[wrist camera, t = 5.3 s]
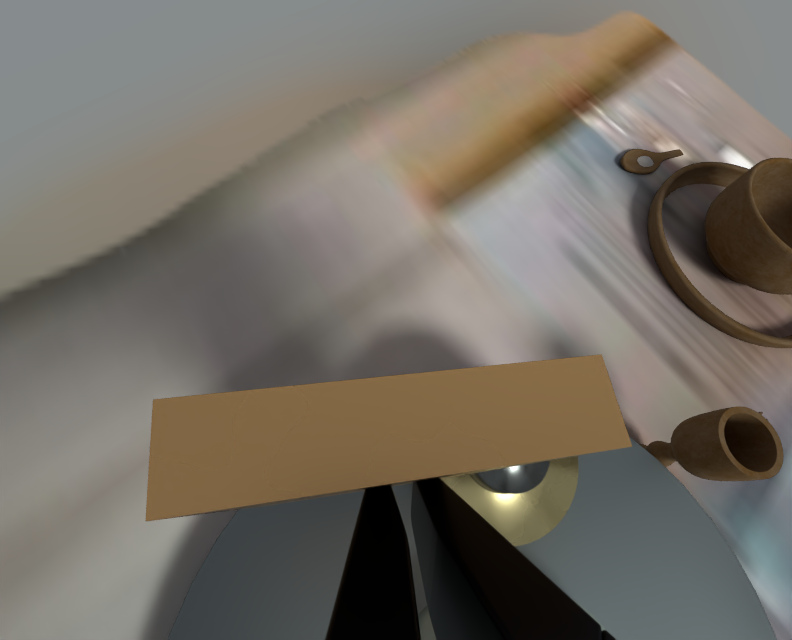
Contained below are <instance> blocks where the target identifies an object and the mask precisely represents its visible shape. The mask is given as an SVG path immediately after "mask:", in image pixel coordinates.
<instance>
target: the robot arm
mask: <svg viewBox="0 0 792 640" xmlns="http://www.w3.org/2000/svg"><path fill="white" fill-rule="evenodd" d="M411 523H412V529H413V534H414V539H415V544H416V550H417V555H418V560H419V565H420V571H421V576H422V581H423V586H424V592H425V597H426V602H427V606H428V611H429V615H430V619H431V623H432V626H433V630H434V633H435V637H436V640H616V639H615V638H614V637H613V636H612V635H611V634H610V633H609V632H608V631H606V630H603V631H602V629H601V626H600V624H599V623H598V622H597V621H595V620H594V619H593V618H592V617H591V616H590V615H589V614H588V613H587V612H586V611H585V610H583V609H582V608H581V607H580V606H579V605H578V604H577V603H576V602H575V601H574V600H573V599H571V598H570V597H569V596H568V595H567V594H566V593H565V592H564V591H563V590H562V589H561V588H559V587H558V586H557V585H556V584H555V583H554V582H553V581H552V580H551V579H550V578H548V577H547V576H546V575H545V574H544V573H543V572H542V571H541V570H540V569H539V568H538V567H536V566H535V565H534V564H533V563H532V562H531V561H530V560H529V559H528V558H527V557H526V556H524V555H523V554H522V553H521V552H520V551H519V550H518V549H517V548H516V547H515V546H514V545H512V544H511V543H510V542H509V541H508V540H507V539H506V538H505V537H504V536H503V535H502V534H500V533H499V532H498V531H497V530H496V529H495V528H494V527H493V526H492V525H491V524H490V523H488V522H487V521H486V520H485V519H484V518H483V517H482V516H481V515H480V514H479V513H478V512H476V511H475V510H474V509H473V508H472V507H471V506H470V505H469V504H468V503H467V502H466V501H464V500H463V499H462V498H461V497H460V496H459V495H458V494H457V493H456V492H455V491H454V490H452V489H451V488H450V487H449V486H448V485H447V484H446V483H445V482H444V481H443V480H441V479H440V478H434V479H428V480H421V481H415V482H413V486H412V500H411ZM325 640H421V634H420V627H419V619H418V611H417V603H416V596H415V588H414V580H413V572H412V564H411V557H410V549H409V543H408V537H407V534H406V530H405V527H404V523H403V520H402V517H401V514H400V511H399V508H398V505H397V501H396V498H395V495H394V492H393V489H392V486H391V485H389V486H382V487H376V488H369V489H365V491H364V494H363V498H362V502H361V506H360V509H359V513H358V517H357V521H356V524H355V528H354V532H353V536H352V539H351V543H350V547H349V551H348V554H347V558H346V562H345V566H344V569H343V573H342V577H341V581H340V584H339V588H338V592H337V596H336V599H335V603H334V607H333V611H332V614H331V618H330V622H329V626H328V629H327V633H326V637H325Z"/></svg>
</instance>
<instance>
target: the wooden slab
mask: <svg viewBox="0 0 792 640" xmlns="http://www.w3.org/2000/svg"><path fill="white" fill-rule="evenodd" d="M627 447H632V444H631V441H630V438H629V435H628V432H627V429H626V426H625V423H624V420H623V417H622V414H621V411H620V408H619V405H618V402H617V399H616V396H615V393H614V390H613V387H612V384H611V381H610V378H609V375H608V372H607V369H606V366H605V363H604V360H603V357H602V355H592V356H582V357H572V358H562V359H552V360H542V361H532V362H522V363H512V364H502V365H492V366H483V367H473V368H463V369H453V370H443V371H433V372H423V373H413V374H403V375H393V376H383V377H373V378H363V379H353V380H343V381H333V382H323V383H314V384H304V385H294V386H284V387H274V388H264V389H254V390H244V391H234V392H224V393H214V394H204V395H194V396H184V397H174V398H164V399H154V400H153V410H152V426H151V442H150V458H149V474H148V490H147V507H146V521H152V520H160V519H168V518H176V517H183V516H191V515H199V514H207V513H215V512H222V511H230V510H238V509H246V508H254V507H261V506H268V505H275V504H281V503H288V502H294V501H301V500H307V499H314V498H320V497H327V496H333V495H339V494H346V493H352V492H359V491H365V489H369V488H376V487H382V486H389V485H391V486H398V485H404V484H410V483H413V482H415V481H421V480H428V479H434V478H440V479H441V480H443V481H444V482H445V483H446V484H447V485H448V486H449V487H450V488H451V489H452V490H454V491H455V492H456V493H457V494H458V495H459V496H460V497H461V498H462V499H463V500H464V501H466V502H467V503H468V504H469V505H470V506H471V507H472V508H473V509H474V510H475V511H476V512H478V513H479V514H480V515H481V516H482V517H483V518H484V519H485V520H486V521H487V522H488V523H490V524H491V525H492V526H493V527H494V528H495V529H496V530H497V531H498V532H499V533H500V534H502V535H503V536H504V537H505V538H506V539H507V540H508V541H509V542H510V543H511V544H512V545H514V546H521V545H524V544H528V543H531V542H533V541H536V540H538V539H540V538H542V537H543V536H545V535H546V534H548V533H549V532H550V531H551V530H553V529H554V528H555V527H556V526H557V525H558V524H559V522H560V521H561V520H562V519H563V517H564V516H565V514H566V513H567V511H568V509H569V507H570V505H571V503H572V501H573V498H574V495H575V491H576V487H577V482H578V456H579V455H585V454H591V453H597V452H603V451H609V450H615V449H621V448H627Z"/></svg>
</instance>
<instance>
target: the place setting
mask: <svg viewBox="0 0 792 640" xmlns="http://www.w3.org/2000/svg"><path fill="white" fill-rule="evenodd" d="M681 155H683V153H682V151H681V150H680V149H679V150H674V151H669V152H663V153H655V152H650V151H647V150H642V149H632V150H630V151H628V152H626V153H625V154H624V155H623V157H622V158H621V161H620V163H621V165H622V167H623V168H624V169H625V170H626V171H628V172H631V173H636V174H648V173H651V172H653V171H655V170H656V169H657V168H658V167H659V165H660V163H661V162H662V161H664V160H666V159H669V158H673V157H677V156H681ZM640 156H649V157H650V158H651V159H652V160H653V162H654V164H653V165H652V166H651V167H643V166H641V165H640V164H639V163H638V162H637V159H638V157H640ZM691 184H714V185H719V186H723V187H727V188H725V189H724V190H723V191H722V192H721V193H720V194H719V195H718V196H717V197H716V198H715V200H714V201H713V203H712V204H711V206H710V207H709V209H708V212H707V215H706V220H705V234H706V239H707V241H706V246H707V251H708V254H709V256H710V258H711V260H712V262H713V263H714V265H715V266H716V267H717V268H718V269H719V270H720V271H721V272H722V273H723V274H724V275H725V276H727V277H728V278H730V279H731V280H733V281H735V282H738V283H741V284H744V285H747V286H749V287H752V288H754V289H757V290H759V291H763V292H767V293H772V294H792V159H789V158H770V159H766V160H763V161H761V162H759V163H757V164H756V165H755V166H753V167H752V168H751V169H747V168H744V167H740V166H737V165H733V164H728V163H721V162H701V163H696V164H691V165H689V166H686V167H683V168H681V169H680V170H678V171H676V172H675V173H674V174H673V175H672V176H670V177H669V178H668V179H667V180H666V181H665V182H664V183H663V185H662V186H661V187H660V189H659V190H658V191H657V193H656V195H655V197H654V199H653V201H652V203H651V207H650V211H649V216H648V236H649V241H650V246H651V249H652V252H653V255H654V258H655V260H656V262H657V265H658V267H659V269H660V271H661V272H662V274H663V276H664V277H665V279H666V281H667V282H668V283H669V285H670V286H671V287H672V289H673V290H674V291H675V293H676V294H677V295H678V296H679V297H680V298H681V299H682V301H683V302H684V303H685V304H686V305H687V306H688V307H689V308H691V309H692V310H693V311H694V312H695V313H696V314H697V315H698V316H700V317H701V318H702V319H704V320H705V321H706V322H708V323H709V324H711V325H712V326H714V327H715V328H717V329H719V330H720V331H722V332H724V333H726V334H728V335H730V336H732V337H734V338H737V339H740V340H742V341H745V342H748V343H752V344H756V345H760V346H765V347H774V348H792V335H790V336H788V337H782V338H777V337H774V336H770V335H766V334H763V333H760V332H758V331H755V330H752V329H750V328H748V327H746V326H744V325H742V324H740V323H738V322H737V321H735V320H733V319H732V318H730V317H729V316H727V315H725V314H724V313H723V312H722V311H720V310H719V309H718V308H716V307H715V306H714V305H712V304H711V303H710V302H709V301H708V300H707V299H706V298H705V297H704V296H703V295H701V293H700V292H699V291H698V290H697V289H696V288H695V287H694V286H693V285H692V284H691V282H690V281H689V280H688V278H687V277H686V276H685V275H684V273H683V272H682V270H681V269H680V267H679V266H678V264H677V262H676V261H675V259H674V257H673V255H672V253H671V251H670V249H669V246H668V243H667V241H666V238H665V234H664V230H663V225H662V204H663V201H664V199H665V198H666V197H667V196H668V195H669V194H670V193H671V192H673V191H675V190H676V189H678V188H681V187H683V186H686V185H691ZM762 414H763V412H759V413H757V412H756V411H754V410H752V409H749V408H746V407H731V408H725V409H720V410H716V411H712V412H708V413H704V414H700V415H697V416H694V417H691V418H689V419H687V420H685V421H683V422H682V423H680V424H679V425H678V426H677V427H676V428H675V430H674V432H673V434H672V438H671V443H666V442H663V441H654V442H652V443H650V444H649V445H648V446H646V445H642V444H641V445H640V446H642V447H643V448H644V449H645V450H646V451H648V452H649V453H650V454H651V455H653V456H654V457H655V458H656V459H658V461H659V462H661V463H662V464H663V465H664V466H665V467H667V466H669V465H671V464H672V463H673V462H675V461H678V463H679V464H680V465H681V466H682V467H683V468H684V469H685V470H686V471H688V472H689V473H691V474H693V475H695V476H697V477H700V478H703V479H708V480H715V481H751V480H761V479H768V478H771V477H773V476H775V475H776V474H777V473H778V472H779V471H780V469H781V467H782V463H783V448H782V444H781V441H780V439H779V436H778V434H777V433H776V431H775V429H774V428H773V427H772V425H771V424H770V423H769V422H768V420H767V419H765V418H764V417H763V416H762Z"/></svg>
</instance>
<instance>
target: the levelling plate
mask: <svg viewBox="0 0 792 640" xmlns="http://www.w3.org/2000/svg"><path fill="white" fill-rule="evenodd" d="M629 438H630V437H629ZM630 441H631V444H632V447H627V448H621V449H615V450H609V451H603V452H597V453H591V454H585V455H579V456H578V482H577V487H576V491H575V495H574V498H573V501H572V503H571V505H570V507H569V509H568V511H567V513H566V514H565V516H564V517H563V519H562V520H561V521H560V522H559V524H558V525H557V526H556V527H555V528H554V529H553V530H551V531H550V532H549V533H548V534H546V535H545V536H543V537H542V538H540V539H538V540H536V541H533V542H531V543H528V544H524V545H521V546H515V547H516V548H517V549H518V550H519V551H520V552H521V553H522V554H523V555H524V556H526V557H527V558H528V559H529V560H530V561H531V562H532V563H533V564H534V565H535V566H536V567H538V568H539V569H540V570H541V571H542V572H543V573H544V574H545V575H546V576H547V577H548V578H550V579H551V580H552V581H553V582H554V583H555V584H556V585H557V586H558V587H559V588H561V589H562V590H563V591H564V592H565V593H566V594H567V595H568V596H569V597H570V598H571V599H573V600H574V601H575V602H576V603H577V604H578V605H579V606H580V607H581V608H582V609H583V610H585V611H586V612H587V613H588V614H589V615H590V616H591V617H592V618H593V619H594V620H595V621H597V622H598V623H599V624H600V626H601V629H602V631H603V630H606V631H608V632H609V633H610V634H611V635H612V636H613V637H614V638H615V639H616V640H777V639H776V636H775V633H774V631H773V629H772V627H771V625H770V622H769V620H768V618H767V616H766V613H765V611H764V609H763V607H762V605H761V602H760V600H759V598H758V596H757V593H756V591H755V589H754V588H753V586H752V584H751V582H750V580H749V579H748V577H747V575H746V573H745V571H744V570H743V568H742V566H741V564H740V562H739V561H738V559H737V557H736V555H735V554H734V552H733V550H732V549H731V547H730V546H729V544H728V543H727V542H726V540H725V539H724V537H723V536H722V534H721V533H720V531H719V530H718V528H717V527H716V525H715V524H714V522H713V521H712V519H711V518H710V517H709V515H708V514H707V513H706V512H705V511H704V509H703V508H702V507H701V506H700V505H699V503H698V502H697V501H696V500H695V498H694V497H693V496H692V495H691V494H690V492H689V491H688V490H687V489H686V488H685V486H684V485H683V484H682V483H681V482H680V481H679V480H678V479H677V478H676V477H675V476H674V475H673V474H672V473H671V472H670V471H669V470H668V469H667V468H666V467H665V466H664V465H663V464H662V463H661V462H659V461H658V459H656V458H655V457H654V456H653V455H651V454H650V453H649V452H648V451H646V450H645V449H644V448H643V447H642V446H640V445H639V444H638V443H637V442H635V441H634V440H633V439H632V438H630ZM412 486H413V483H410V484H404V485H398V486H392V489H393V492H394V495H395V498H396V501H397V505H398V508H399V511H400V514H401V517H402V520H403V523H404V527H405V530H406V534H407V537H408V543H409V549H410V557H411V564H412V572H413V580H414V588H415V596H416V603H417V611H418V619H419V627H420V634H421V640H436V637H435V633H434V630H433V626H432V623H431V619H430V615H429V611H428V606H427V602H426V597H425V592H424V586H423V581H422V576H421V571H420V565H419V560H418V555H417V550H416V544H415V539H414V534H413V529H412V523H411V500H412ZM363 494H364V491H359V492H352V493H346V494H339V495H333V496H327V497H320V498H314V499H307V500H301V501H294V502H288V503H281V504H275V505H268V506H261V507H254V508H246V509H239V510H238V511H237V512H236V514H235V515H234V517H233V518H232V519H231V521H230V522H229V523H228V525H227V526H226V528H225V529H224V530H223V532H222V533H221V534H220V536H219V537H218V539H217V540H216V542H215V544H214V546H213V547H212V549H211V551H210V553H209V554H208V556H207V558H206V560H205V561H204V563H203V565H202V567H201V568H200V570H199V572H198V574H197V575H196V577H195V579H194V581H193V582H192V584H191V587H190V589H189V591H188V593H187V596H186V598H185V600H184V603H183V605H182V607H181V609H180V612H179V614H178V616H177V619H176V621H175V623H174V625H173V628H172V630H171V632H170V635H169V637H168V640H325V637H326V633H327V629H328V626H329V622H330V618H331V614H332V611H333V607H334V603H335V599H336V596H337V592H338V588H339V584H340V581H341V577H342V573H343V569H344V566H345V562H346V558H347V554H348V551H349V547H350V543H351V539H352V536H353V532H354V528H355V524H356V521H357V517H358V513H359V509H360V506H361V502H362V498H363Z"/></svg>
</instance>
